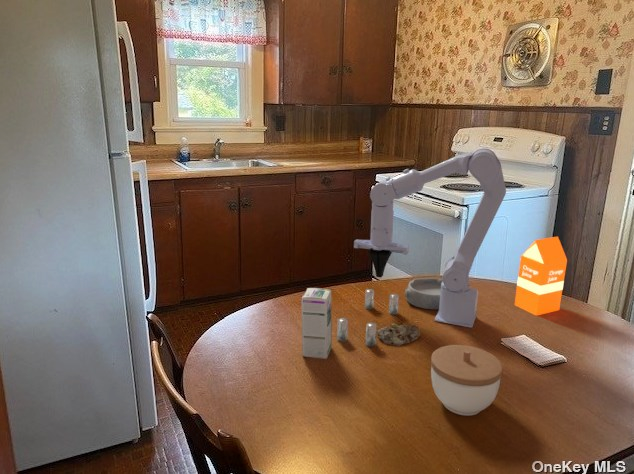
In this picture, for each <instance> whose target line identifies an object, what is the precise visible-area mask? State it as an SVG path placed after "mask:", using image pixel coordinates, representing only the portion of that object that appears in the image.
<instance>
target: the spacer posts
mask: <svg viewBox="0 0 634 474" xmlns="http://www.w3.org/2000/svg"><path fill="white" fill-rule="evenodd" d="M364 295H365V296H364V309H366V310H373V309H375V307H374V306H375V305H374V303H375V290H374V289H373V288H367V289H365V292H364ZM399 301H400V295H399V294H398V293H390V294H389V302H388V303H389V304H388V314H390V315H392V316H395V315H398V314H399ZM336 322H337V323H336V324H337V325H336V326H337V330H336V331H337V332H336V333H337V334H336V340H337V341H339V342H347V340H348V324H349V323H348V318H345V317H340V318H337V321H336ZM377 326H378V325H377V323H375V322H367V323H366V324H365V328H366V329H365V346H367V347H369V348H370V347H371V348H374V347H376V345H377V330H378V328H377Z"/></svg>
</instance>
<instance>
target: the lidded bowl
mask: <svg viewBox="0 0 634 474" xmlns="http://www.w3.org/2000/svg"><path fill="white" fill-rule="evenodd" d="M430 364H431V365H430V366H431V367H430V368H431V369H430V378H431V379H430V381H431V385H432V389H433V392H434V393H435V396H436V397H437V399H438V400H439V401H440V402H441V403H442V404H443V406H444V408H445V409H447V410H448V411H449V412H451V413H454V414H456V415H459V416H463V417H466V416H468V417H469V416H474V415H477V414H479V413H481V411H484V410H485V409H487V408H488V407H490V405H492V403H493V402H494V400H495V399H496V396H497V395H498V392H499V388H500V385H501V384H500V383H501V377H502V376H503V365H502V363H501V361H500V360H499V359H498V358H497V357H496V356H495V355H493V354H492V353H490V352H488V351H486V350H484V349H483V348H478V347H475V346H470V345H464V344H463V345H462V344H449V345H444V346H441V347H439V348H437V349H435V350H434V351H433V352H432V354H431V358H430Z"/></svg>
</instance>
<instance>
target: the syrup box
mask: <svg viewBox="0 0 634 474" xmlns="http://www.w3.org/2000/svg"><path fill="white" fill-rule="evenodd" d="M300 302H301V344H302V345H301V350H302V352H301V353H302V357H305V358H311V359H323V360H327V359H328V357H329V355H330V352H331V348H332V347H333V346H332V342H333V341H332V338H333V337H332V335H333V334H332V329H333V328H332V326H333V325H332V324H333V323H332V321H333V320H332V290H331V289H329V288H322V287H307V288H306V290H305V292H304V293H303V294H302V297H301V301H300Z"/></svg>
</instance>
